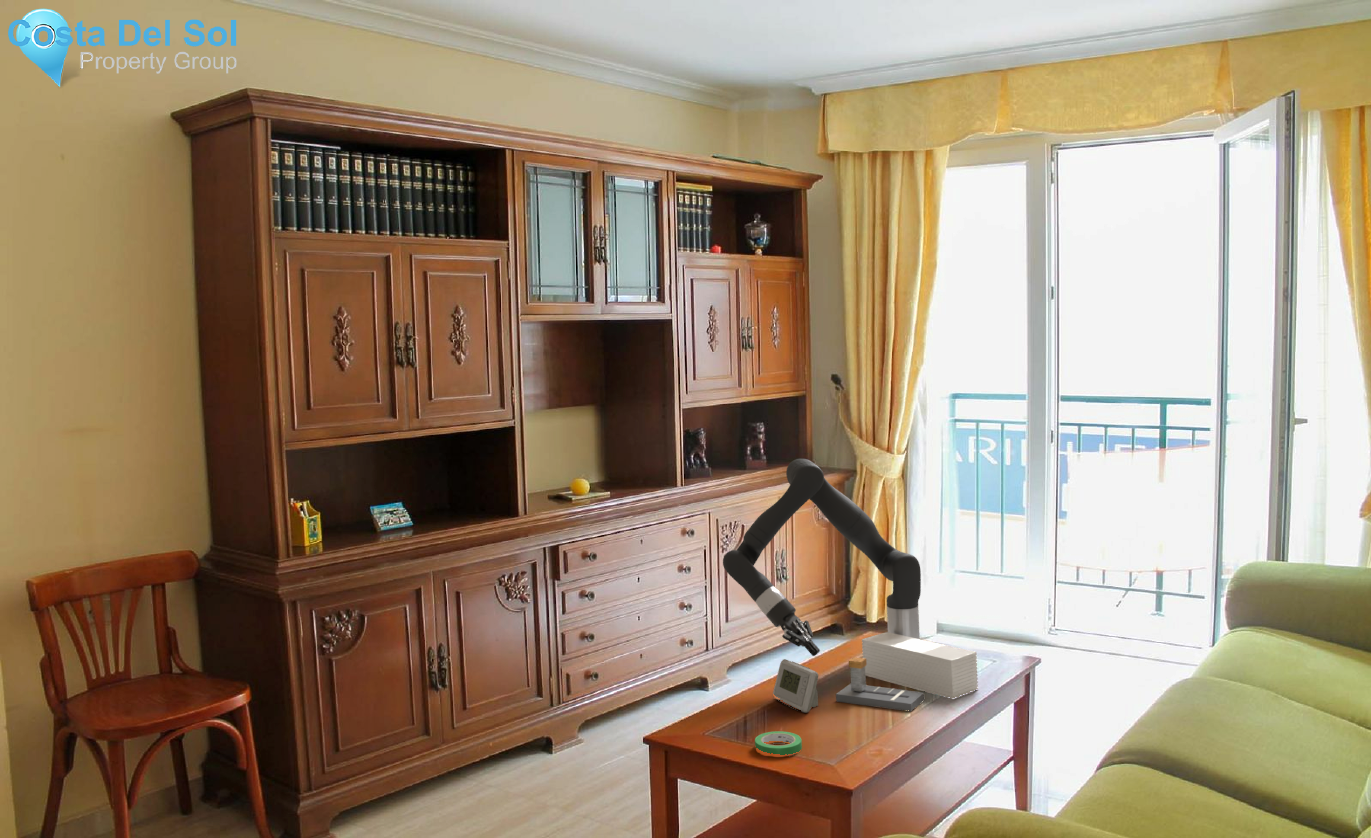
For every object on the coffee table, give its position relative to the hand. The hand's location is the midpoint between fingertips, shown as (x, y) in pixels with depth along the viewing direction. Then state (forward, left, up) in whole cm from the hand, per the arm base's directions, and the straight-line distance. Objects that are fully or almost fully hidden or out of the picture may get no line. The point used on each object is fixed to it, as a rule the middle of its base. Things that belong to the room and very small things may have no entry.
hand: (817, 653), depth 291 cm
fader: (0, +12, -9) cm, 15 cm away
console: (0, +18, -11) cm, 21 cm away
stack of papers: (-19, +22, -11) cm, 31 cm away
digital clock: (+12, -1, -11) cm, 16 cm away
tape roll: (+42, +9, -11) cm, 45 cm away
